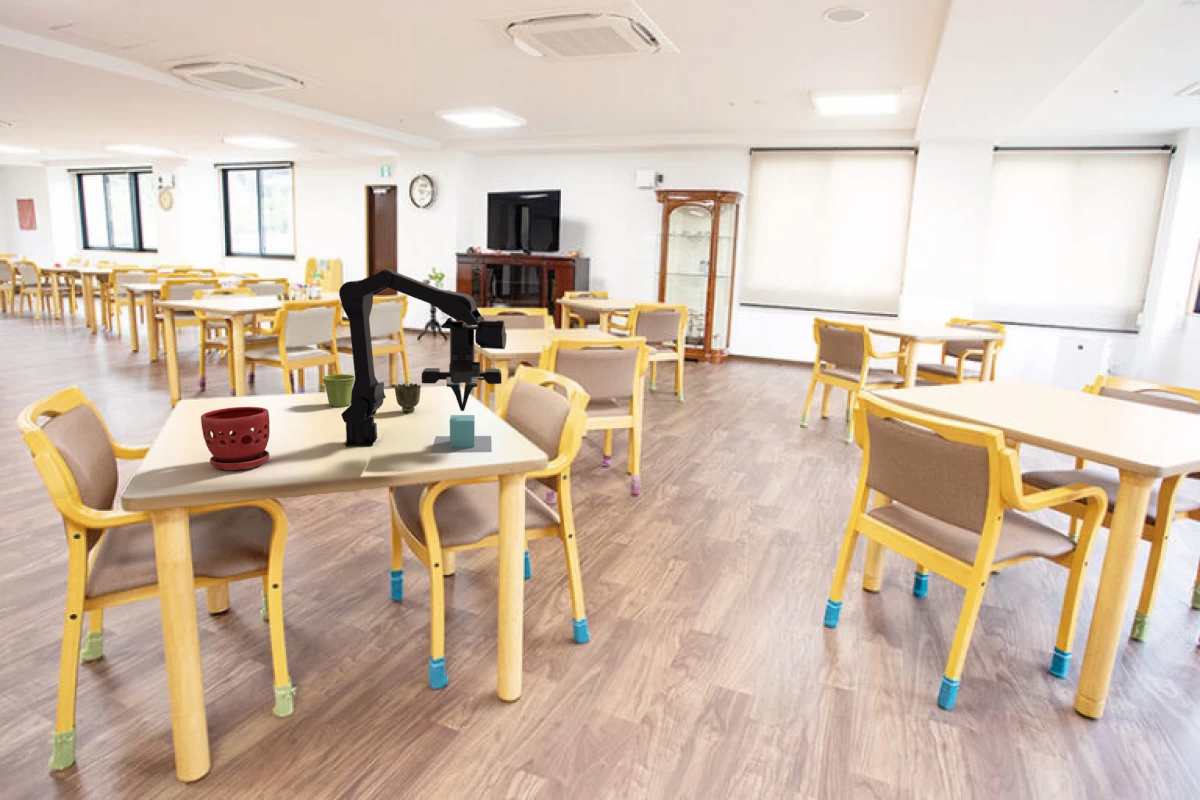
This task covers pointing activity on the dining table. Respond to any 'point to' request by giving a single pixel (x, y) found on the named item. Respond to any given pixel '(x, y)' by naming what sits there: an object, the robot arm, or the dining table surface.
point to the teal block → (462, 430)
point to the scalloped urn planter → (407, 396)
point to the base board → (479, 446)
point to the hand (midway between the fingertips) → (462, 410)
